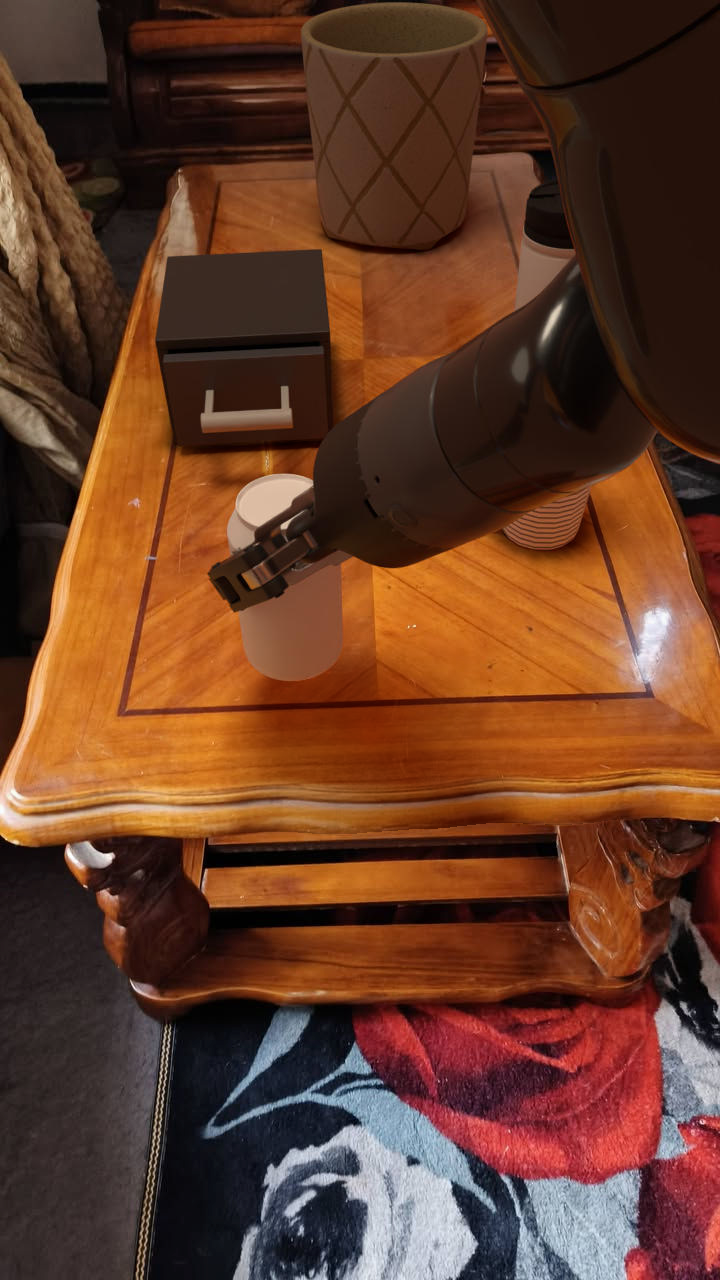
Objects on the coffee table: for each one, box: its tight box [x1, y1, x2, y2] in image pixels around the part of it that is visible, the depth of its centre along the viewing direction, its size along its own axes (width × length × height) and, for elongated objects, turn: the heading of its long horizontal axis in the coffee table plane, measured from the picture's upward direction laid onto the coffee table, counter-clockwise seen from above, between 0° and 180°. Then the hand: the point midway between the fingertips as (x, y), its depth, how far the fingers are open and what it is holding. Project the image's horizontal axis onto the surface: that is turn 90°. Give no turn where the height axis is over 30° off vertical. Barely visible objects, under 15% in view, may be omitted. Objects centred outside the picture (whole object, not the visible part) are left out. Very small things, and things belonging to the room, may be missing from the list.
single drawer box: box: [154, 248, 335, 445], centre depth 84 cm, size 15×14×10 cm
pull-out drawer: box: [163, 342, 328, 447], centre depth 81 cm, size 18×13×8 cm
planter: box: [300, 1, 488, 251], centre depth 105 cm, size 19×19×20 cm
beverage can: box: [226, 473, 344, 682], centre depth 56 cm, size 6×6×12 cm
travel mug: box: [513, 178, 576, 312], centre depth 76 cm, size 6×7×20 cm
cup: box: [501, 486, 593, 551], centre depth 68 cm, size 8×8×16 cm
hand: (266, 553), depth 56 cm, fingers closed on beverage can, 6 cm apart
